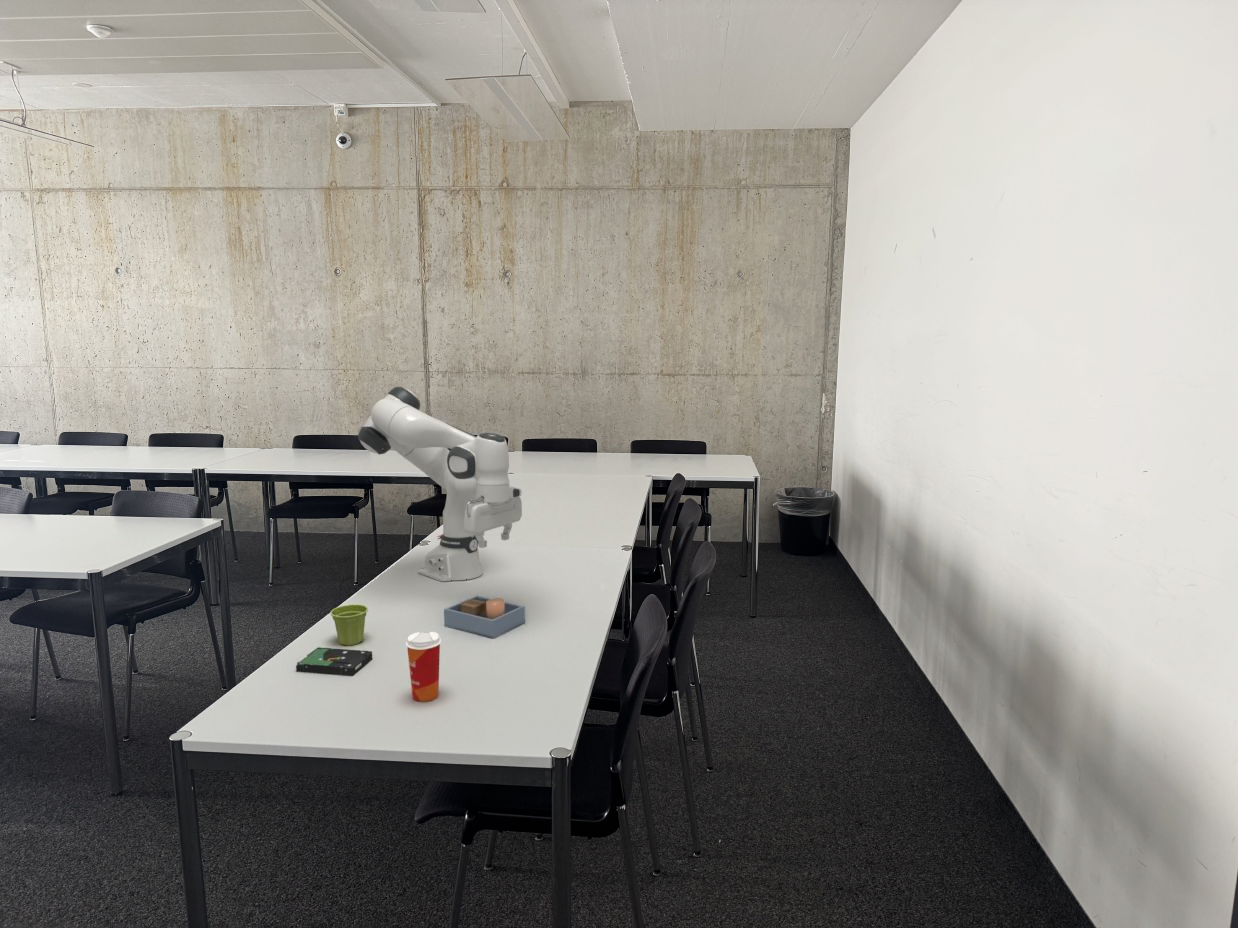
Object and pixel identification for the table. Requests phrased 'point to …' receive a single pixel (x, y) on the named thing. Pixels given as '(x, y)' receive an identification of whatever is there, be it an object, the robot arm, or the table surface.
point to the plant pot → (349, 623)
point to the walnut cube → (474, 608)
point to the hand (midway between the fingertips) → (494, 543)
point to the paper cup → (424, 665)
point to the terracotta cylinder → (495, 608)
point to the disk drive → (334, 661)
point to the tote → (484, 619)
